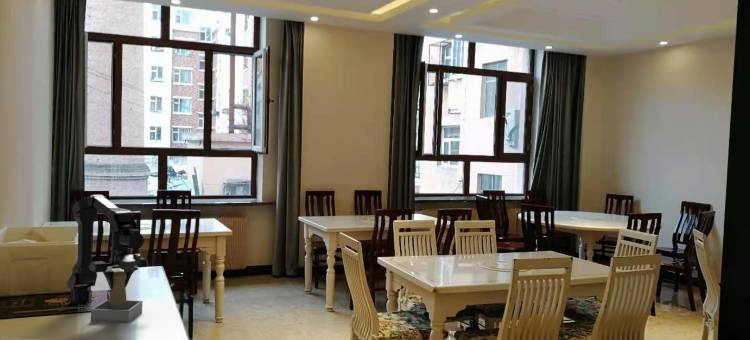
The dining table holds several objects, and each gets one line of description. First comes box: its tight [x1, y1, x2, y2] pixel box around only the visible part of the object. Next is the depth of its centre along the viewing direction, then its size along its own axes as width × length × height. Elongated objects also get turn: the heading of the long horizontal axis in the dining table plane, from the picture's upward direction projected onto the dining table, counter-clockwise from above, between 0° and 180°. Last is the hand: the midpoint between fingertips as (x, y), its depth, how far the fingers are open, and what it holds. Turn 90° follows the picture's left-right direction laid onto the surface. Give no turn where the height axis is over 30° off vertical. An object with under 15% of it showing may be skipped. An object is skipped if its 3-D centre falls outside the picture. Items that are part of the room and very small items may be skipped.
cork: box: [108, 270, 128, 304], centre depth 199 cm, size 6×6×11 cm
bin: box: [90, 298, 143, 324], centre depth 200 cm, size 13×13×4 cm
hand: (118, 288), depth 199 cm, fingers closed on cork, 5 cm apart
